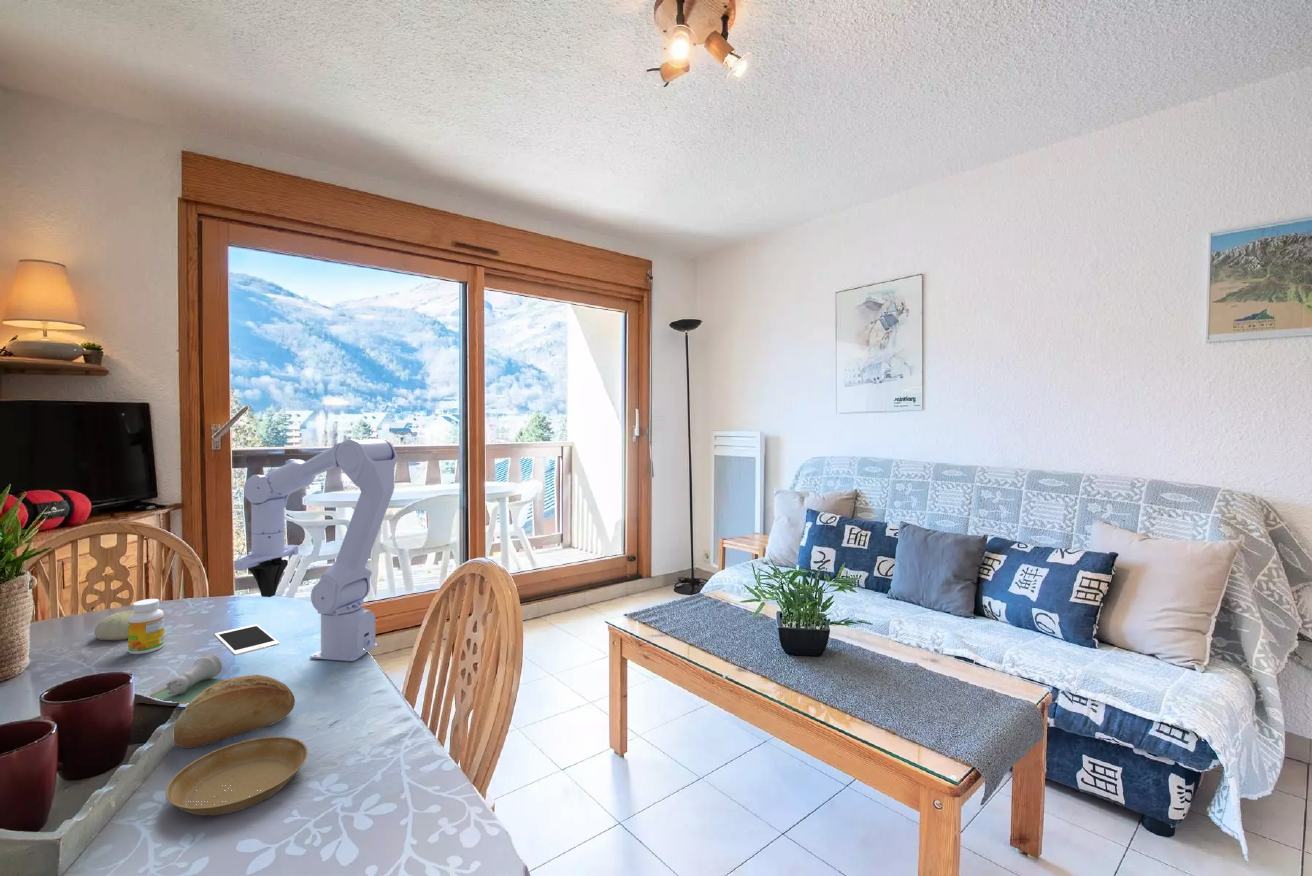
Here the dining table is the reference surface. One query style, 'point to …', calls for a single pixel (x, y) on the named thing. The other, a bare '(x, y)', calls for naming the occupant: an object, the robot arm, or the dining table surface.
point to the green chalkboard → (189, 693)
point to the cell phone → (246, 639)
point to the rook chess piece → (195, 674)
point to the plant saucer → (236, 775)
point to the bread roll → (232, 710)
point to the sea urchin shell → (114, 626)
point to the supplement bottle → (145, 627)
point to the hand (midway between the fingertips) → (268, 595)
